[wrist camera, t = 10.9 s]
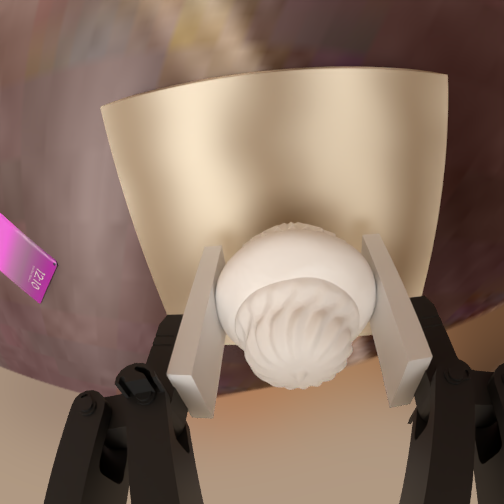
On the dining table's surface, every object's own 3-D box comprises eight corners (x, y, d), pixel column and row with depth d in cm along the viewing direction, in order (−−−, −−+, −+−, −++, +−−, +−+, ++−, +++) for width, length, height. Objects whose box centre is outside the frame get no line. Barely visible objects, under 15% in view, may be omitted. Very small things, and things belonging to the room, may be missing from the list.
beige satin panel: (413, 69, 14) (447, 74, 11) (396, 291, 23) (411, 329, 19) (133, 95, 16) (100, 106, 13) (191, 306, 25) (180, 345, 21)
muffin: (285, 318, 17) (286, 436, 12) (199, 248, 15) (159, 372, 9) (381, 255, 15) (428, 375, 9) (300, 161, 12) (325, 266, 7)
